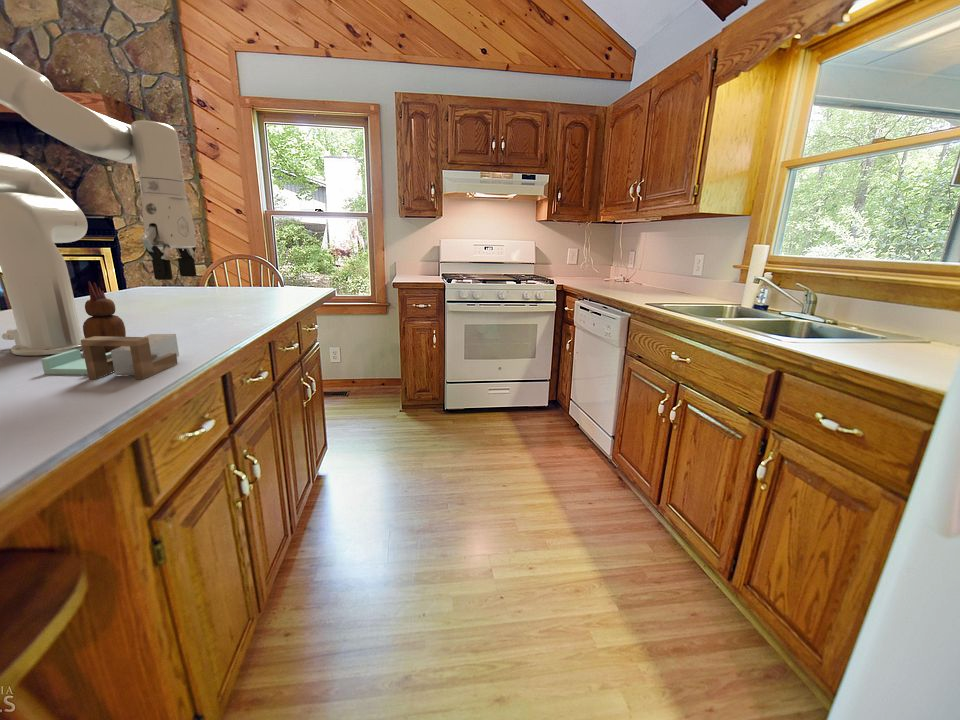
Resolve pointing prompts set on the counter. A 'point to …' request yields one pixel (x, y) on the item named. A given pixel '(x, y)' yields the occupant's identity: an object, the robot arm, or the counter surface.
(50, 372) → the cradle
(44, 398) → the counter surface
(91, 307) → the wooden figurine
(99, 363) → the brown wooden stepped stand
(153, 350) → the bar
